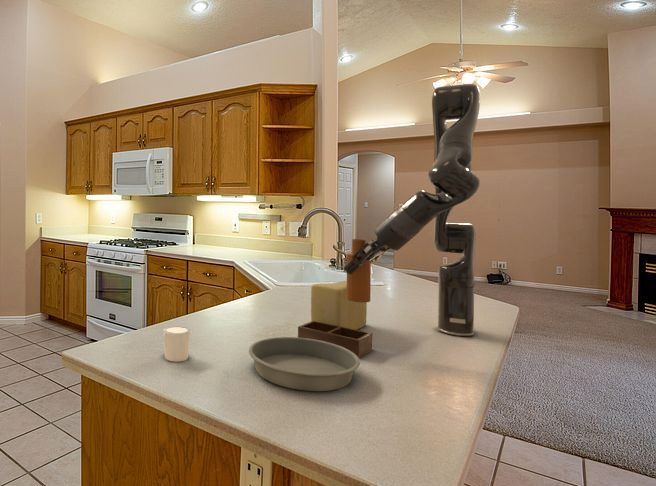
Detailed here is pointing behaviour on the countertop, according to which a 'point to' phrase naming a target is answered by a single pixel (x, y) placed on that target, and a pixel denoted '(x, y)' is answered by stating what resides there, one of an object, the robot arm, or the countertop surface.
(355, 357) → the cake pan
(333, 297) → the cheese
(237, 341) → the countertop surface
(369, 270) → the bottle
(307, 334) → the holder
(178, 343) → the cream cylinder
